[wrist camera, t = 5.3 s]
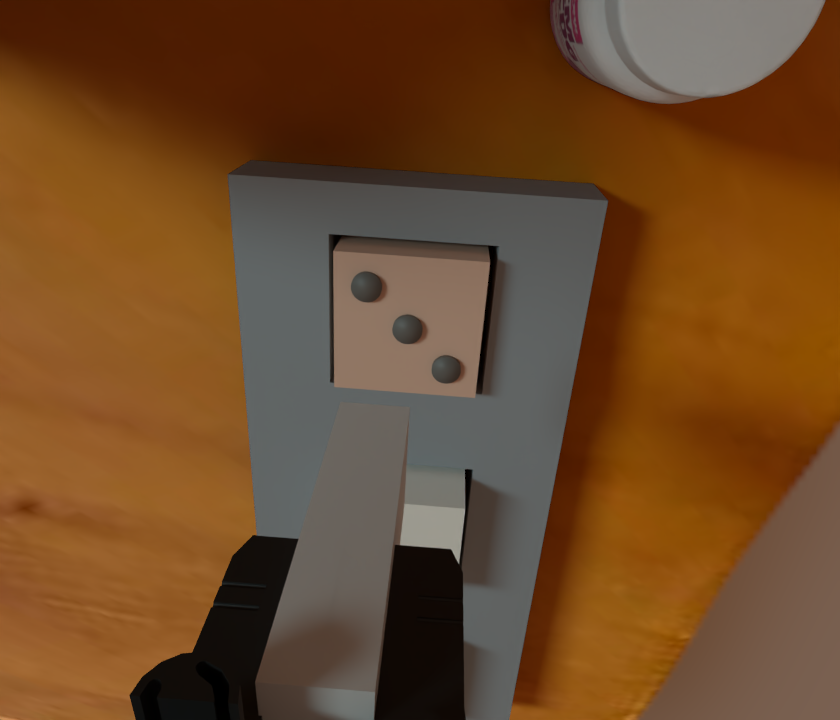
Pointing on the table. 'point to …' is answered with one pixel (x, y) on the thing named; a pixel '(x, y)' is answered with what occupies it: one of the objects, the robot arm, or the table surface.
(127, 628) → the table surface
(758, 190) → the table surface
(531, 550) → the key board
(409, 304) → the key three
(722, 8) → the pill bottle
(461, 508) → the key two
